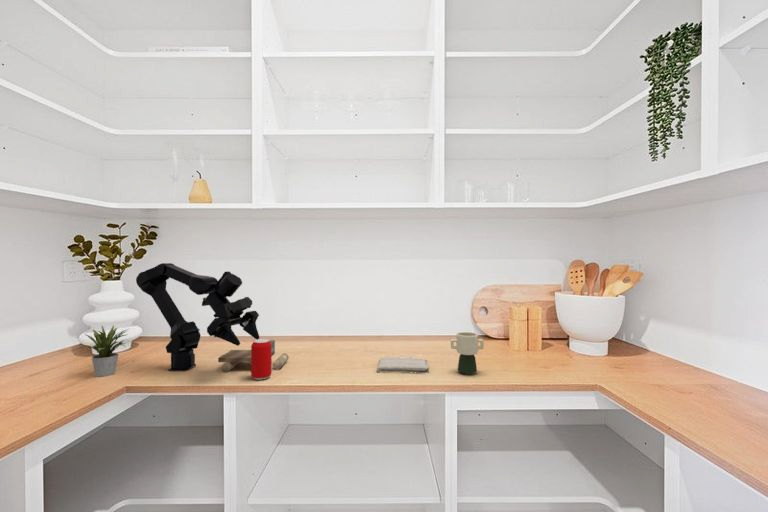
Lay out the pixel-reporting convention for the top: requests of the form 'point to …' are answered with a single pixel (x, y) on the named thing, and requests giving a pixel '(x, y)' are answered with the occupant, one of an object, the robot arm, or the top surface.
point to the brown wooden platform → (239, 357)
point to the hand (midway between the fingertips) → (249, 341)
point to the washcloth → (402, 365)
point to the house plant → (105, 352)
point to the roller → (280, 361)
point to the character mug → (467, 351)
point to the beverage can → (261, 359)
